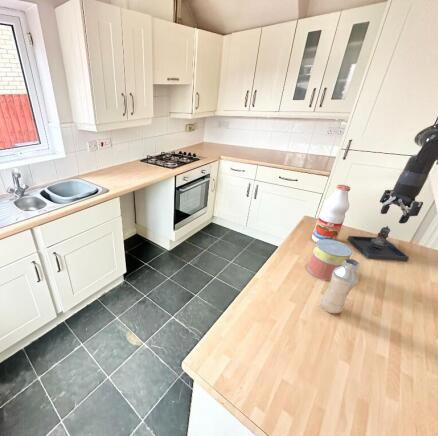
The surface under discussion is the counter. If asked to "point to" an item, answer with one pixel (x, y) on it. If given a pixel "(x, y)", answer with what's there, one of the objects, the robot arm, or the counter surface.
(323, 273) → the canned food
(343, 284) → the plastic bottle
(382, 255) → the tray
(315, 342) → the counter surface
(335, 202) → the fruit juice
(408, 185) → the robot arm
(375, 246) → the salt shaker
